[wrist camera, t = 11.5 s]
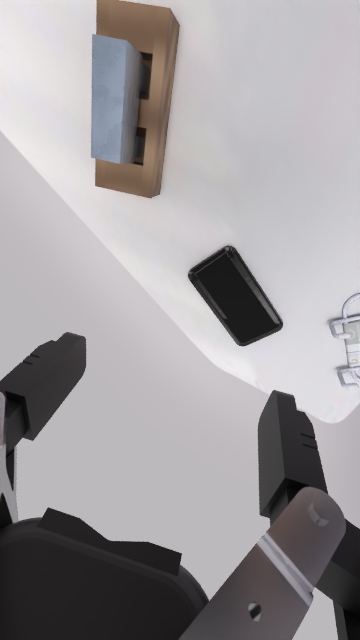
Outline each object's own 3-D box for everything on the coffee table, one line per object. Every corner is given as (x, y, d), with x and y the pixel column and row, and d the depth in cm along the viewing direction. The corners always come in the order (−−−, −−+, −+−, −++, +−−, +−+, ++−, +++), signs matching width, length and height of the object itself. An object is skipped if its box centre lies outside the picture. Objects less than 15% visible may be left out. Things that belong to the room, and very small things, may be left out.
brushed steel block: (128, 61, 30) (92, 34, 23) (154, 66, 30) (126, 40, 23) (122, 156, 35) (91, 157, 28) (145, 162, 35) (119, 163, 28)
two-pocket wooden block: (114, 15, 29) (96, -3, 26) (179, 25, 29) (169, 8, 25) (109, 183, 38) (95, 186, 34) (159, 194, 37) (150, 198, 34)
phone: (230, 243, 38) (285, 327, 42) (231, 241, 39) (285, 324, 43) (184, 274, 41) (239, 348, 45) (186, 271, 42) (239, 344, 46)
